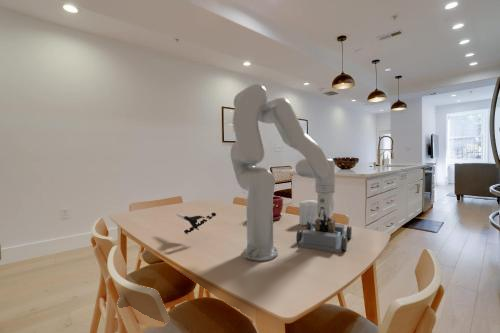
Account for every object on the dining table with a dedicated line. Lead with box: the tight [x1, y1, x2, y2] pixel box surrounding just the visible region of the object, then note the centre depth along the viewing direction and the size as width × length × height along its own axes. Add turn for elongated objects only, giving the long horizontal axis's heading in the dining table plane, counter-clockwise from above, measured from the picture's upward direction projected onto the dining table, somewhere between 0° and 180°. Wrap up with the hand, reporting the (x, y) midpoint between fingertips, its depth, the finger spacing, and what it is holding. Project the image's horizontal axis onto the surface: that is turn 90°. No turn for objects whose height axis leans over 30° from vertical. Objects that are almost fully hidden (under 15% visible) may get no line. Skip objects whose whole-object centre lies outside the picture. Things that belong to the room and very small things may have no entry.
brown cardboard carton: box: [315, 217, 336, 234], centre depth 102 cm, size 4×7×6 cm, turn 61°
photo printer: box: [298, 199, 320, 226], centre depth 125 cm, size 10×4×12 cm, turn 98°
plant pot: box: [273, 195, 284, 221], centre depth 137 cm, size 13×13×12 cm
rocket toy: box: [175, 212, 217, 235], centre depth 109 cm, size 14×6×23 cm
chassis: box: [295, 221, 353, 254], centre depth 102 cm, size 22×18×6 cm
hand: (325, 232), depth 102 cm, fingers closed on brown cardboard carton, 4 cm apart
